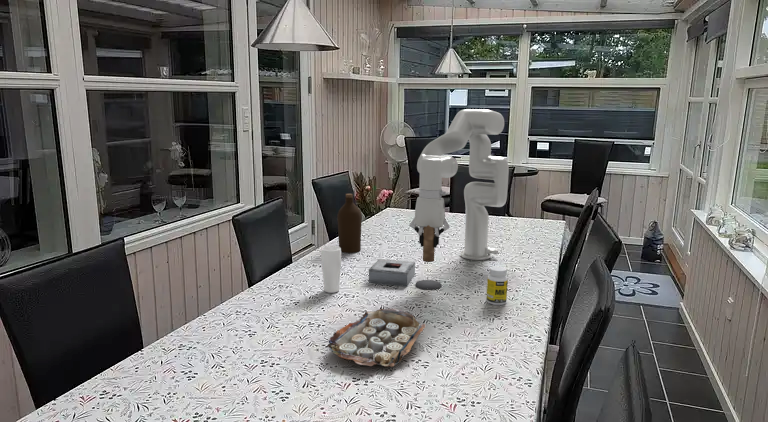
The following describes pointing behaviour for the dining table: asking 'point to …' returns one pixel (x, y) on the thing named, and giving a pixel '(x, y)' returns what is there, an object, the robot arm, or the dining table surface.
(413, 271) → the grey square holed block
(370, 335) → the baking tray
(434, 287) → the coaster
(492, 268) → the supplement bottle
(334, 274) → the drinking glass
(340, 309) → the dining table surface
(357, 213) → the olive oil
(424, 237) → the tan wooden rod
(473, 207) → the robot arm
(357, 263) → the dining table surface
